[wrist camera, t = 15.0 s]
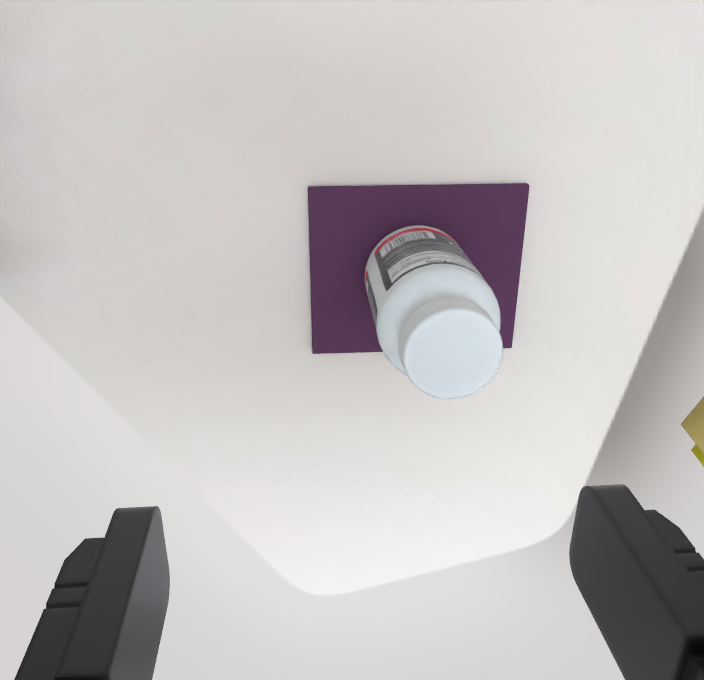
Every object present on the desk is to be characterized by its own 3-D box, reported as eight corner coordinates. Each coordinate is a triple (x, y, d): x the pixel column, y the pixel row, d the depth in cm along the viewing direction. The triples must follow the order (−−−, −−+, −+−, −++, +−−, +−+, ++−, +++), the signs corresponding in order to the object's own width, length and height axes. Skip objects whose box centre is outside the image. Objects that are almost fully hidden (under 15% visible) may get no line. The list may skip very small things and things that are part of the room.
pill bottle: (444, 331, 37) (489, 428, 28) (350, 306, 36) (365, 398, 27) (481, 238, 35) (543, 311, 26) (382, 209, 34) (410, 274, 25)
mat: (312, 350, 37) (312, 353, 37) (307, 186, 33) (308, 188, 33) (509, 345, 38) (511, 348, 37) (527, 183, 34) (529, 185, 34)
